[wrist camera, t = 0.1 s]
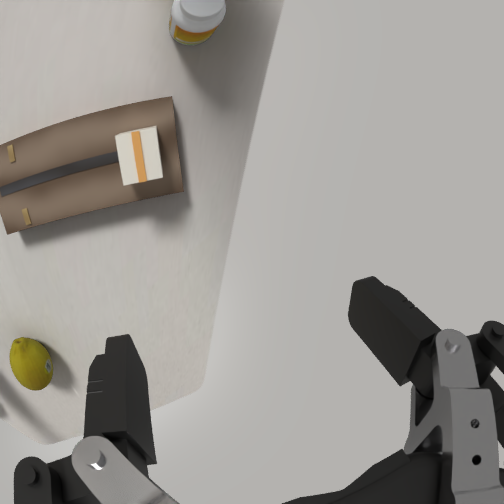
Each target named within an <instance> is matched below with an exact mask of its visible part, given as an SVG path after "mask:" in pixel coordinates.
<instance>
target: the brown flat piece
mask: <svg viewBox="0 0 504 504" xmlns="http://www.w3.org/2000/svg"><path fill="white" fill-rule="evenodd" d="M153 126H157V133H158V141H159V148H160V155H161V162H162V169H163V178H158V179H153V180H148V181H145V182H140V183H139V182H138V183H134V184H129V185H123V180H122V175H121V169H120V164H119V158H118V152H117V146H116V139H115V136H116V135H118V134H120V133H124V132H128V131H133V130H138V129H142V128H148V127H153ZM179 192H184V189H183V182H182V175H181V168H180V161H179V153H178V145H177V136H176V128H175V119H174V109H173V99H172V96H171V97H165V98H159V99H153V100H147V101H142V102H137V103H132V104H127V105H123V106H118V107H114V108H110V109H106V110H102V111H98V112H94V113H90V114H87V115H83V116H80V117H76V118H73V119H70V120H67V121H63V122H60V123H57V124H54V125H51V126H48V127H45V128H43V129H40V130H37V131H34V132H32V133H29V134H26V135H24V136H21V137H19V138H16V139H14V140H11V141H9V142H7V143H4V144H2V145H0V213H1V217H2V220H3V223H4V226H5V229H6V232H7V235H8V234H11V233H14V232H17V231H21V230H24V229H27V228H31V227H34V226H38V225H41V224H45V223H48V222H52V221H55V220H59V219H63V218H67V217H70V216H74V215H78V214H82V213H86V212H90V211H94V210H98V209H103V208H107V207H111V206H116V205H120V204H125V203H129V202H134V201H138V200H143V199H148V198H153V197H158V196H163V195H168V194H173V193H179Z"/></svg>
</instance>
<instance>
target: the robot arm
mask: <svg viewBox="0 0 504 504" xmlns="http://www.w3.org/2000/svg"><path fill="white" fill-rule="evenodd" d="M348 317H349V322H350V325H351V327H352V328H353V330H354V331H355V332H356V333H357V334H358V336H360V338H361V339H362V340H363V342H364V343H365V344H366V345H367V346H368V348H369V349H370V350H371V351H372V353H373V354H374V355H375V356H376V357H377V359H378V360H379V361H380V362H381V363H382V365H383V366H384V367H385V368H386V370H387V371H388V372H389V373H390V375H391V376H392V377H393V378H394V380H395V381H396V382H397V383H398V385H399V386H402V385H403V384H405V383H407V382H409V381H411V382H412V383H413V386H412V388H411V415H410V416H411V417H410V431H409V435H408V438H407V441H406V443H405V446H404V450H403V449H401V450H399V451H398V452H396V453H394V454H392V455H391V456H389V457H387V458H385V459H384V460H382V461H380V462H378V463H377V464H374V465H373V466H372V467H370V468H369V469H368V470H367V471H366V472H365V473H363V474H362V475H361V476H360V477H359V478H358V479H356V480H355V481H354V482H353V483H351V484H350V485H349V486H347V487H346V488H345V489H343V490H341V491H336V492H331V493H326V494H320V495H313V496H307V497H300V498H297V499H294V500H291V501H288V502H285V503H282V504H504V469H502V468H499V454H498V441H499V442H500V444H501V445H502V447H503V448H504V391H503V390H502V388H501V387H500V386H499V385H498V384H497V382H496V381H495V380H494V379H493V378H492V377H491V375H490V374H491V372H492V371H493V369H494V368H495V366H497V367H498V368H499V369H500V371H501V372H502V373H503V374H504V325H503V324H501V323H499V322H497V321H487V322H485V323H484V325H483V327H482V329H481V331H480V333H478V334H474V335H470V336H465V335H464V334H462V333H461V332H459V331H457V330H454V329H445V330H441V329H440V328H439V327H438V326H437V325H435V324H434V323H433V322H432V321H431V320H430V319H429V318H428V317H427V316H426V315H425V314H424V313H422V312H421V311H420V310H419V309H418V308H417V307H415V305H414V304H412V302H410V301H408V300H407V298H406V297H405V296H404V295H403V294H401V293H400V292H399V291H398V290H395V289H393V288H391V287H389V286H387V285H386V286H385V285H384V284H383V283H382V282H380V281H379V280H378V279H377V278H376V277H374V276H371V277H367V278H364V279H361V280H357V281H355V282H354V283H353V286H352V293H351V299H350V305H349V311H348ZM151 464H157V461H156V455H155V448H154V442H153V434H152V425H151V416H150V405H149V394H148V382H147V375H146V371H145V368H144V365H143V363H142V361H141V359H140V356H139V354H138V352H137V350H136V348H135V345H134V343H133V341H132V339H131V337H130V335H129V334H126V335H120V336H114V337H108V338H107V340H106V347H105V354H102V355H96V357H95V359H94V360H93V362H92V364H91V366H90V368H89V375H88V385H87V395H86V408H85V425H84V437H83V439H82V440H81V441H80V442H78V443H77V445H76V446H75V448H74V449H73V452H72V454H71V455H70V456H68V457H65V458H62V459H60V460H56V461H54V462H51V463H47V464H46V463H45V462H43V461H42V460H41V459H39V458H37V457H26V458H24V459H22V460H21V461H20V462H19V463H18V465H17V466H16V468H15V472H14V504H179V503H178V502H177V501H175V500H174V499H173V498H172V497H171V496H169V495H168V494H167V493H166V492H165V491H164V490H162V489H161V488H160V487H159V486H158V485H157V484H155V483H154V482H153V481H152V480H151V479H150V478H149V476H148V469H147V465H151Z"/></svg>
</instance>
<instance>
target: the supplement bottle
mask: <svg viewBox="0 0 504 504" xmlns="http://www.w3.org/2000/svg"><path fill="white" fill-rule="evenodd" d="M225 13H226V4H225V0H175V1H174V2H173V5H172V8H171V14H170V21H169V31H170V34H171V36H172V37H173V38H174V39H175V40H176V41H177V42H179V43H181V44H184V45H197V44H200V43H203V42H204V41H206V40H207V39H208V38H209V37H210V36H211V35H212V34H213V32H214V31H215V30H216V28H217V27H218V25H219V24H220V23H221V22H222V20H223V18H224V16H225Z"/></svg>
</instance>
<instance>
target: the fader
mask: <svg viewBox="0 0 504 504" xmlns="http://www.w3.org/2000/svg"><path fill="white" fill-rule="evenodd" d="M115 139H116V146H117V152H118V158H119V164H120V169H121V175H122V180H123V185H129V184H134V183H138V182H139V183H140V182H145V181H148V180H153V179H158V178H163V169H162V162H161V155H160V148H159V141H158V133H157V126H153V127H148V128H142V129H138V130H133V131H128V132H124V133H120V134H118V135H116V136H115Z"/></svg>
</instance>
